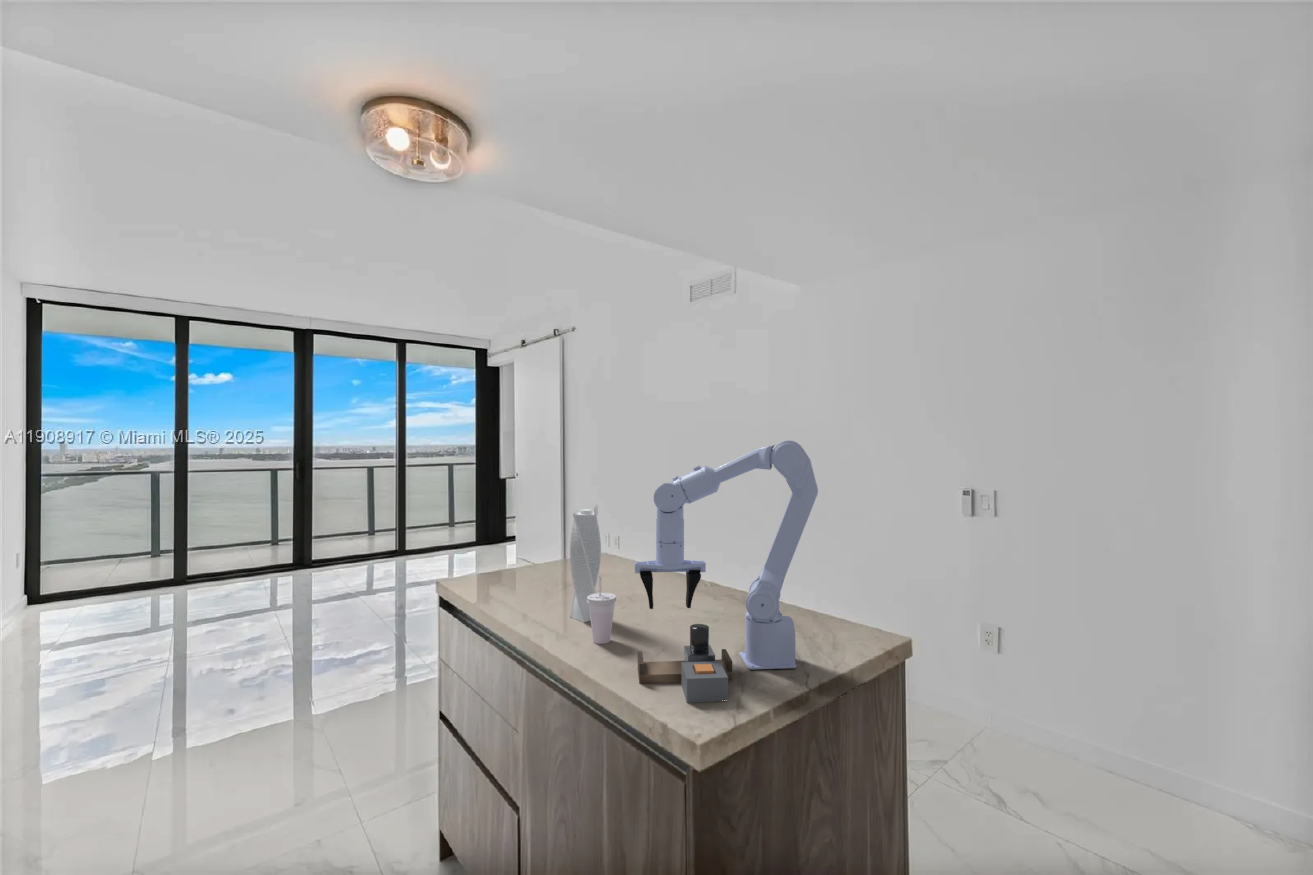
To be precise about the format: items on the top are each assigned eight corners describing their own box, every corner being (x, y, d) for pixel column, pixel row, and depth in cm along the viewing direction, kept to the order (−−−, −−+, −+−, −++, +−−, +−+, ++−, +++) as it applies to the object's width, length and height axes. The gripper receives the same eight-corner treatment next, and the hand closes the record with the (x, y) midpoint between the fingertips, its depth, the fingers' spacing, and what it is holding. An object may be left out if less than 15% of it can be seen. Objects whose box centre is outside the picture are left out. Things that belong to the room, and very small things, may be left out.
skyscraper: (608, 617, 140) (608, 503, 140) (584, 625, 134) (584, 506, 134) (587, 610, 145) (587, 500, 145) (563, 617, 140) (564, 503, 140)
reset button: (710, 684, 101) (711, 663, 101) (714, 691, 98) (714, 670, 98) (694, 684, 101) (694, 664, 101) (696, 692, 98) (696, 671, 98)
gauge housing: (719, 683, 103) (719, 661, 103) (728, 701, 96) (728, 677, 96) (681, 684, 102) (681, 662, 102) (686, 702, 95) (686, 678, 95)
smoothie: (601, 633, 129) (601, 571, 129) (622, 640, 125) (622, 576, 124) (580, 641, 124) (580, 576, 124) (601, 648, 120) (601, 581, 120)
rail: (725, 667, 110) (725, 649, 110) (732, 680, 104) (732, 661, 104) (637, 669, 109) (637, 651, 109) (639, 683, 103) (639, 664, 103)
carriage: (710, 659, 109) (710, 622, 109) (715, 670, 104) (715, 631, 104) (684, 660, 109) (684, 622, 109) (687, 671, 104) (688, 631, 104)
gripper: (701, 537, 122) (701, 600, 122) (633, 537, 121) (633, 602, 121) (707, 543, 115) (707, 610, 115) (635, 544, 114) (635, 612, 114)
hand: (669, 607), depth 117 cm, fingers open, 7 cm apart
